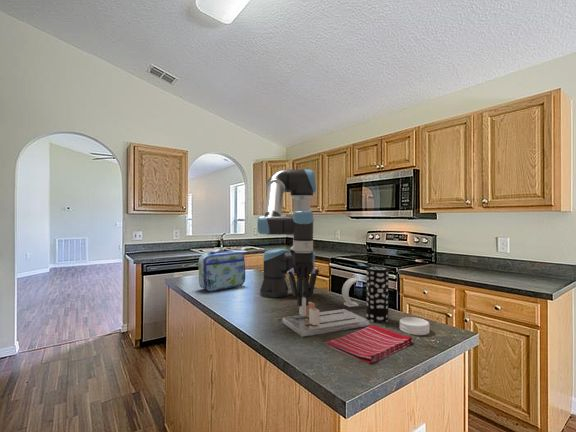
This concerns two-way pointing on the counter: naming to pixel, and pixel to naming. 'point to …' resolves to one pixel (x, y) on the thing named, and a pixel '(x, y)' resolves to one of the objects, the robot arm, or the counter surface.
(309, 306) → the fader terracotta
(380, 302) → the white-spotted black cylinder
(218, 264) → the lunch box
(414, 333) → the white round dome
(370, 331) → the dish towel
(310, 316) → the fader cream
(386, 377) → the counter surface
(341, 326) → the console
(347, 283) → the headphone stand
